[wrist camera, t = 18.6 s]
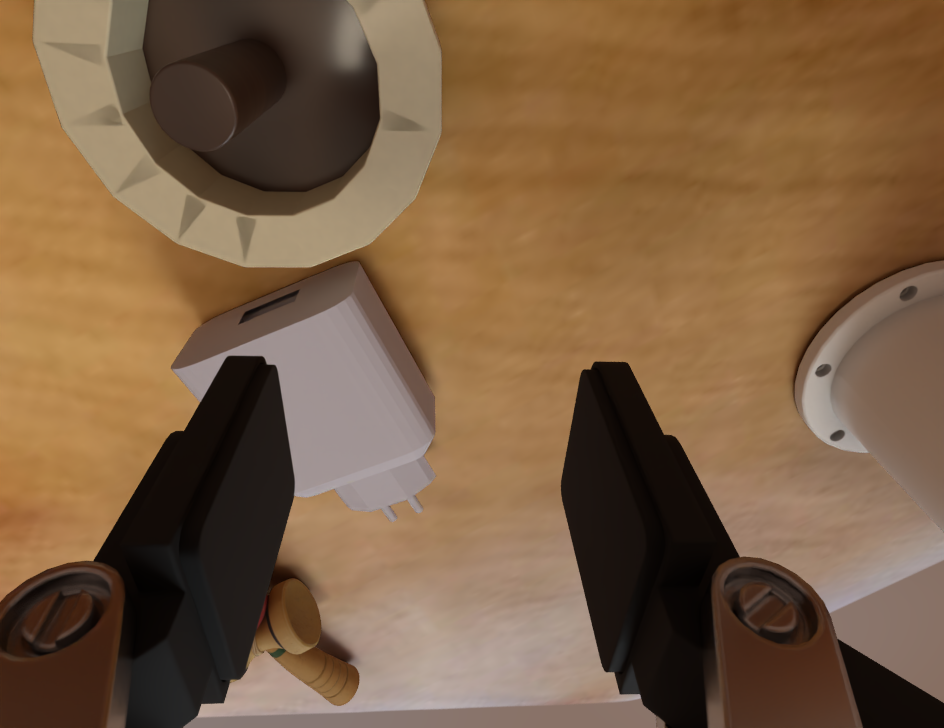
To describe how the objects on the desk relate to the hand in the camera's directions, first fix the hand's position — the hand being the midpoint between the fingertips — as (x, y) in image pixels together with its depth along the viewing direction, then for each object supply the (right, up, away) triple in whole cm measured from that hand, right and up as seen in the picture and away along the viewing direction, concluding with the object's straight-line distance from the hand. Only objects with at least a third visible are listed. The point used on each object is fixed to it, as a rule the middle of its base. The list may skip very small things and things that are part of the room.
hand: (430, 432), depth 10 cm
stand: (-8, +13, +13) cm, 20 cm away
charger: (-6, -1, +23) cm, 24 cm away
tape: (-7, +12, +12) cm, 19 cm away
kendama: (-13, -17, +33) cm, 39 cm away
